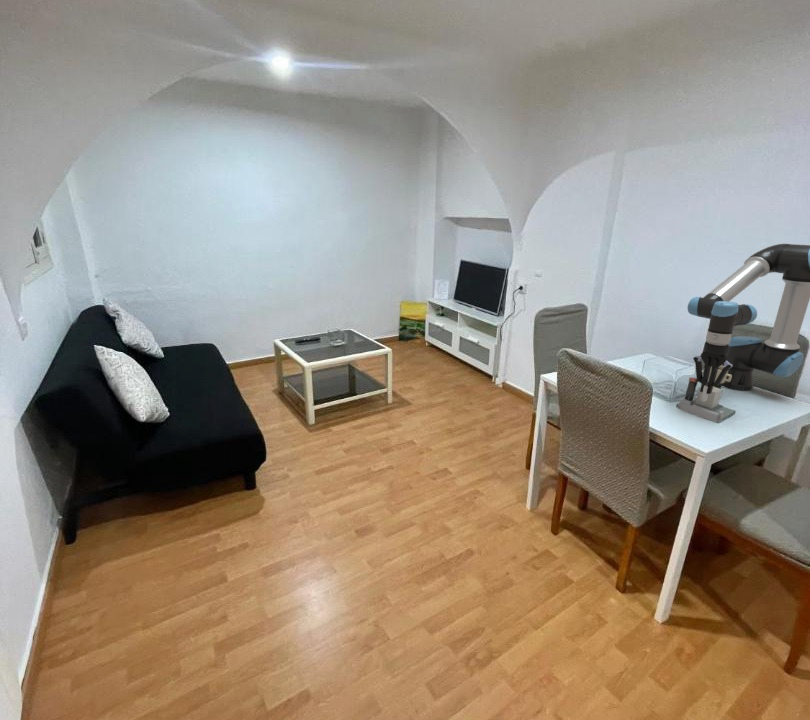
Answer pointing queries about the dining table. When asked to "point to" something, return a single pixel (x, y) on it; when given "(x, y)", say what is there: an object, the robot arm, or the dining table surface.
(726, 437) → the dining table surface
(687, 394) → the lever
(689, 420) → the dining table surface
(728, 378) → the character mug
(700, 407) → the base plate
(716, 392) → the housing
